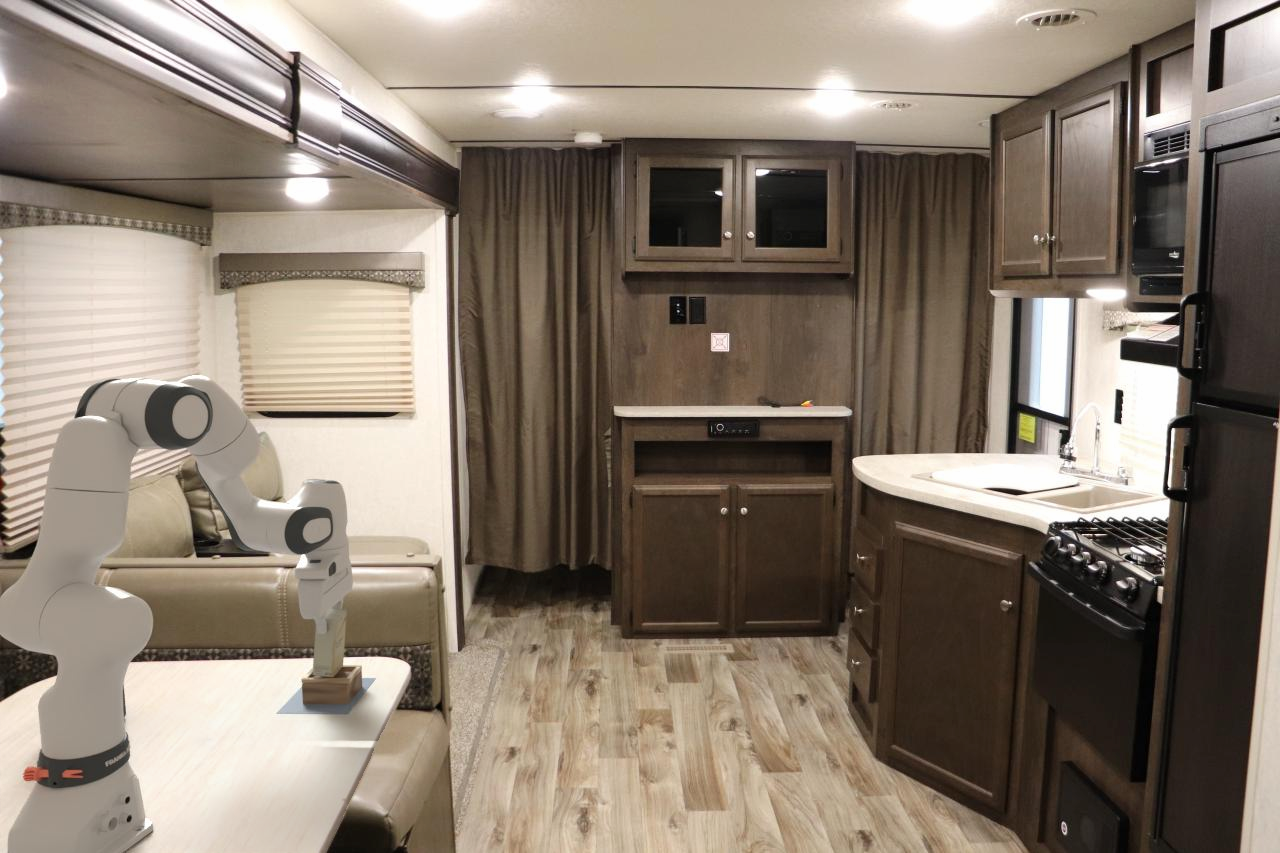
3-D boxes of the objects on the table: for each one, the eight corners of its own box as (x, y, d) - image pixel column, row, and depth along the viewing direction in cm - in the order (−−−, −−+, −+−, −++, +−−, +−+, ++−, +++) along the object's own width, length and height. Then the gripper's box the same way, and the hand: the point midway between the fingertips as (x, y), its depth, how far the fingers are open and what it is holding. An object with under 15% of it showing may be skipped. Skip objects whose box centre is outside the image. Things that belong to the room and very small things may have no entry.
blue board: (348, 718, 193) (347, 714, 193) (276, 718, 193) (276, 713, 193) (376, 682, 211) (376, 678, 210) (310, 681, 211) (310, 677, 211)
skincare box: (333, 678, 198) (337, 620, 196) (311, 675, 198) (315, 617, 196) (343, 665, 205) (348, 609, 202) (322, 662, 205) (326, 606, 202)
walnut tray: (349, 704, 197) (348, 681, 196) (301, 703, 198) (300, 680, 197) (363, 686, 206) (362, 664, 205) (317, 685, 206) (316, 663, 206)
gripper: (328, 545, 208) (332, 609, 210) (290, 573, 188) (294, 643, 190) (358, 545, 208) (361, 609, 210) (323, 573, 188) (327, 644, 190)
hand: (329, 626), depth 200 cm, fingers open, 6 cm apart
